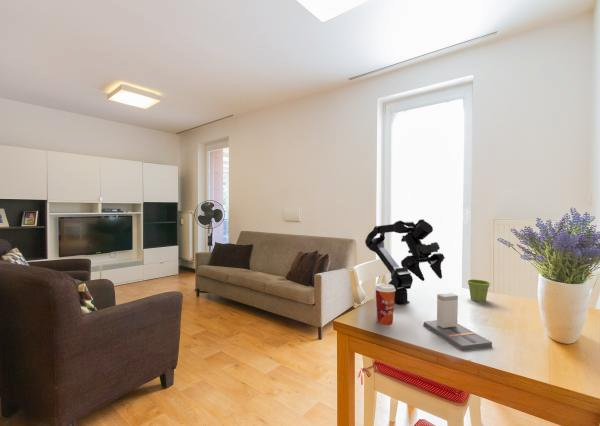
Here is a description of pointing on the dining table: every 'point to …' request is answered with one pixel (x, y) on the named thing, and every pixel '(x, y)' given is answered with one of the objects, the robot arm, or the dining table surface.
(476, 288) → the plant pot
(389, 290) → the paper cup
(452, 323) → the fader handle
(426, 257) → the robot arm
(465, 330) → the fader console
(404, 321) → the dining table surface
